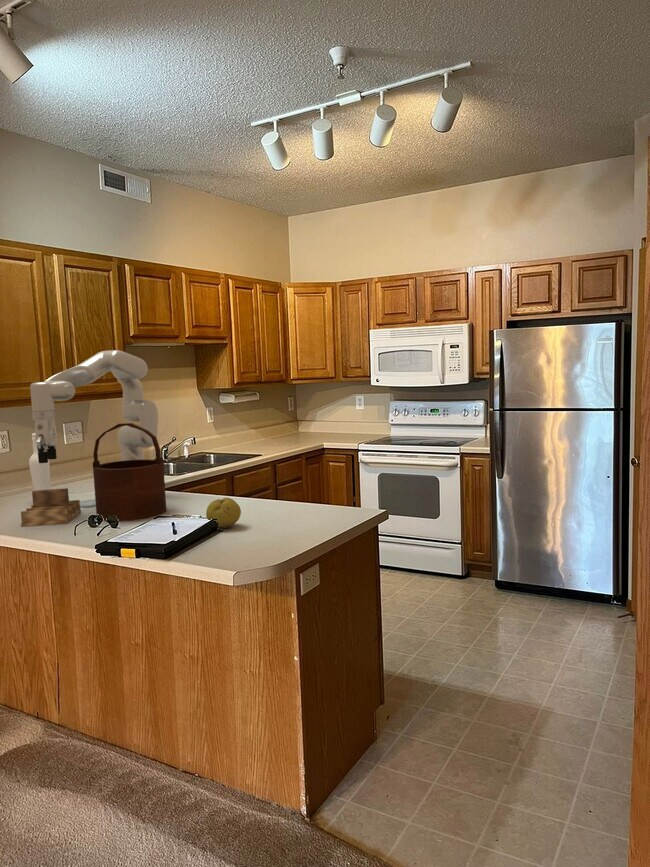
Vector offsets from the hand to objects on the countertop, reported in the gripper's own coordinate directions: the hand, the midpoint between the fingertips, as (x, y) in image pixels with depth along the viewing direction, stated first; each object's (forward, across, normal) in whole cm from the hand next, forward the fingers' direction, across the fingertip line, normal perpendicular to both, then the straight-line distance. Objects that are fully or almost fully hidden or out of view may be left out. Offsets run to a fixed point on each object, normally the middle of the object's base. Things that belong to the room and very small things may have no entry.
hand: (47, 461), depth 229 cm
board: (+21, 0, 0) cm, 21 cm away
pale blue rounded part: (+23, +24, -8) cm, 34 cm away
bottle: (+22, +36, +15) cm, 45 cm away
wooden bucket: (+22, +2, -29) cm, 37 cm away
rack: (+22, 0, 0) cm, 22 cm away
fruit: (+22, -30, -66) cm, 76 cm away
